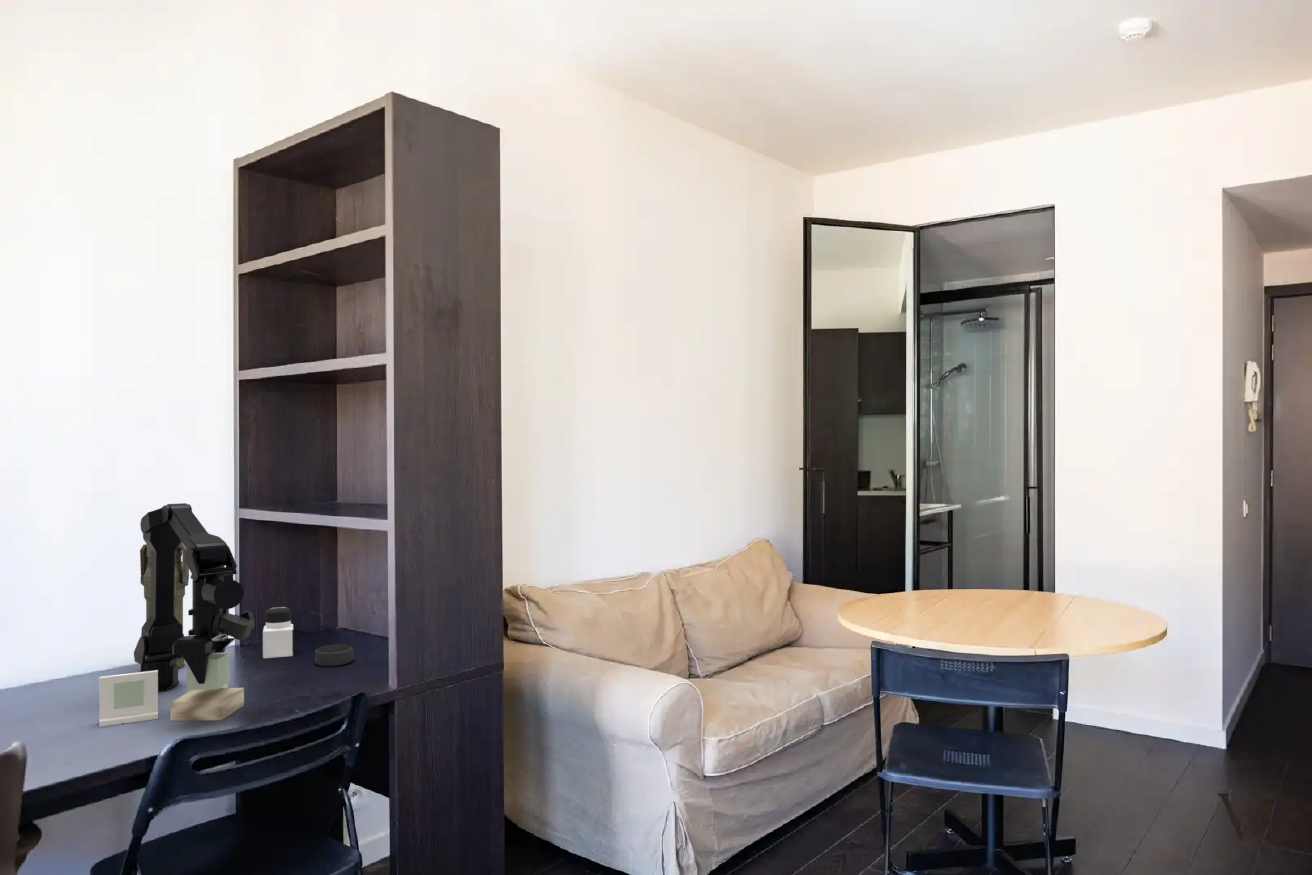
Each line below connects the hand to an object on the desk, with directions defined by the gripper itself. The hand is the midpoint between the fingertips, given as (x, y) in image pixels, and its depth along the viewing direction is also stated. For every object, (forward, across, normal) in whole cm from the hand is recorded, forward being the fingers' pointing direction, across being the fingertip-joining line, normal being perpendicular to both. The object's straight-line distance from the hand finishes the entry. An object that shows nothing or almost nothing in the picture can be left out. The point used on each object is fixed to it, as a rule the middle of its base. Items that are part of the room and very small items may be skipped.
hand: (208, 679), depth 182 cm
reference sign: (+7, -4, +14) cm, 16 cm away
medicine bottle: (+7, +50, +3) cm, 51 cm away
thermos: (+7, +38, +26) cm, 47 cm away
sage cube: (+1, 0, 0) cm, 1 cm away
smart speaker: (+7, +40, -14) cm, 43 cm away
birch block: (+7, 0, 0) cm, 7 cm away
